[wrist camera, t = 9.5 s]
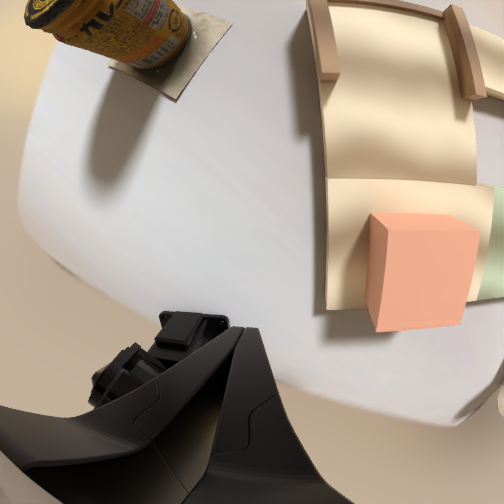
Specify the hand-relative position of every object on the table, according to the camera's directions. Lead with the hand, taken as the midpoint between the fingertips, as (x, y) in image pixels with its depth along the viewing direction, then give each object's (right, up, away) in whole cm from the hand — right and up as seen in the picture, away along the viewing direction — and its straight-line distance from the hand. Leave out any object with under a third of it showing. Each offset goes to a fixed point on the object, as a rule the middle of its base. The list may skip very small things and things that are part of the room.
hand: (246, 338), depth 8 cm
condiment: (-7, +19, +7) cm, 22 cm away
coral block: (+11, +2, +8) cm, 13 cm away
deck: (+15, +10, +6) cm, 19 cm away
